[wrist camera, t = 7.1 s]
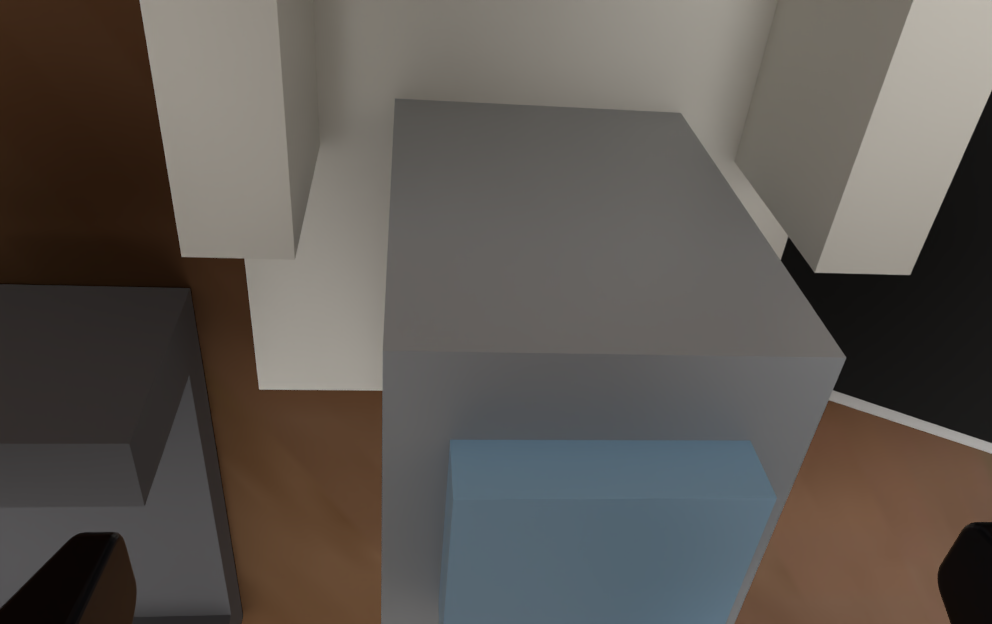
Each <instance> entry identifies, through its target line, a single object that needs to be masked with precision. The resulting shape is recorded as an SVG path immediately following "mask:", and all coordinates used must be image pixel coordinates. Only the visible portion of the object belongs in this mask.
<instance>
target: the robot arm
mask: <svg viewBox="0 0 992 624" xmlns="http://www.w3.org/2000/svg"><path fill="white" fill-rule="evenodd" d="M938 586H939V591H940V594H941V597H942V600H943V602H944V605H945V608H946V611H947V614H948V617H949V620H950V623H951V624H992V522H975V523H970V524H969V525H967V526H965V527H964V529H963V530H962V531H961V533H960V534H959V536H958V538H957V539H956V541H955V542H954V544H953V546H952V547H951V549H950V550H949V552H948V554H947V555H946V557H945V559H944V560H943V562H942V563H941V565H940V567H939V571H938ZM136 598H137V587H136V580H135V577H134V573H133V569H132V566H131V562H130V558H129V555H128V551H127V548H126V544H125V541H124V539H123V537H122V536H121V535H120V534H119V533H117V532H83V533H79V534H77V535H75V536H73V537H72V538H70V539H69V540H68V541H67V542H66V543H65V544H64V545H63V546H62V547H61V548H60V549H59V550H58V551H57V552H56V553H55V554H54V555H53V556H52V557H51V558H50V559H49V560H48V561H47V562H46V563H45V564H44V565H43V566H42V567H41V568H40V569H39V570H38V571H37V572H36V573H35V574H34V575H33V576H32V577H31V578H30V579H29V580H28V581H27V582H26V583H25V584H24V585H23V586H22V587H21V588H20V589H19V590H18V591H17V592H16V593H15V594H14V595H13V596H12V597H11V598H10V599H9V600H8V601H7V602H6V603H5V604H4V605H3V606H2V607H1V608H0V624H132V622H133V617H134V612H135V606H136Z"/></svg>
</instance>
